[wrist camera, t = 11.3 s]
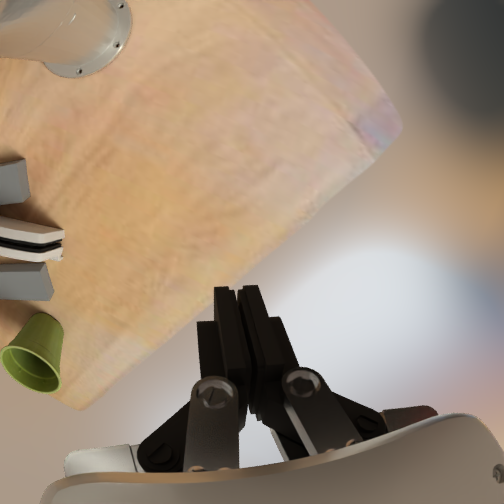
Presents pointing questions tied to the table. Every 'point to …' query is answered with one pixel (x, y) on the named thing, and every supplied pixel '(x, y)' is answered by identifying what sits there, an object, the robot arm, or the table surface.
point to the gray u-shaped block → (26, 274)
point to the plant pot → (36, 355)
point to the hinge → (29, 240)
